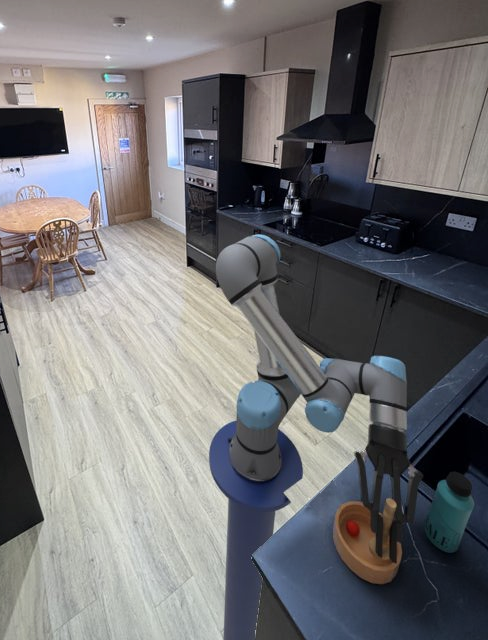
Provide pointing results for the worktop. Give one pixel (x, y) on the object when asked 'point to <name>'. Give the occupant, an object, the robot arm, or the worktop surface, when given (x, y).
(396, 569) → the bowl
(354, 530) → the cherry tomato
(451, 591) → the worktop surface
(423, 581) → the worktop surface
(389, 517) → the wooden peg
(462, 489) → the beverage bottle
